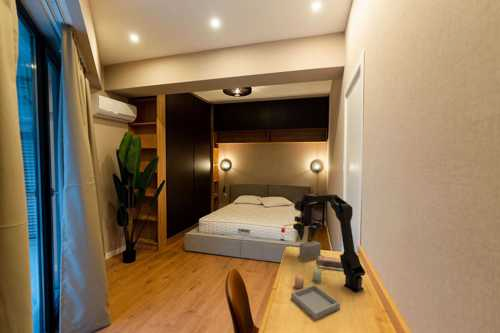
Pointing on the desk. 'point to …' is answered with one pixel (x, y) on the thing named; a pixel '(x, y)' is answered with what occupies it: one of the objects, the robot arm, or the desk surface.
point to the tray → (315, 301)
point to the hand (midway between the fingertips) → (306, 238)
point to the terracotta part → (299, 281)
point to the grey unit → (309, 251)
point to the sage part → (317, 275)
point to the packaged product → (329, 263)
